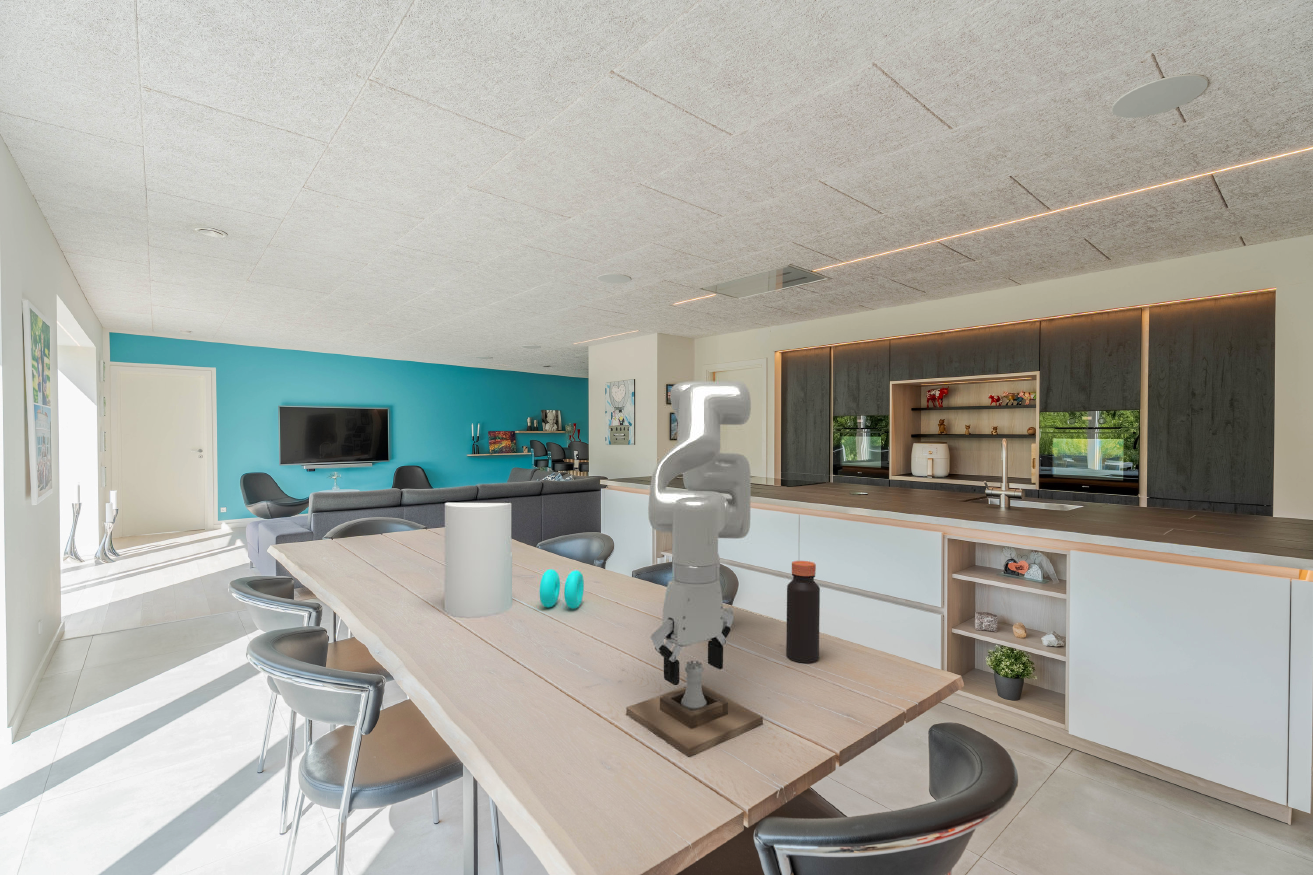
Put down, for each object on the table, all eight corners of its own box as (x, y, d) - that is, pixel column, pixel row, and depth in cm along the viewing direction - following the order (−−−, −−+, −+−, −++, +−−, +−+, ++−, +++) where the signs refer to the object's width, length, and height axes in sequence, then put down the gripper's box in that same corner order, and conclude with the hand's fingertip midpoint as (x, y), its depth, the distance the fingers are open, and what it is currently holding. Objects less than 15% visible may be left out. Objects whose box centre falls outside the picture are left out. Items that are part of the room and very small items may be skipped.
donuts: (550, 600, 163) (550, 565, 163) (584, 602, 161) (585, 566, 161) (537, 611, 153) (538, 573, 153) (574, 613, 151) (575, 575, 151)
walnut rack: (697, 688, 108) (697, 671, 108) (762, 723, 95) (763, 704, 95) (626, 714, 98) (626, 695, 98) (688, 756, 86) (688, 735, 86)
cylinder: (501, 618, 148) (502, 507, 147) (433, 617, 148) (434, 506, 147) (518, 598, 165) (519, 499, 164) (457, 597, 165) (458, 498, 165)
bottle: (821, 654, 125) (822, 561, 125) (816, 665, 119) (817, 568, 119) (789, 649, 128) (790, 558, 128) (782, 660, 122) (784, 564, 122)
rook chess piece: (678, 705, 99) (679, 658, 99) (704, 704, 99) (705, 657, 99) (682, 718, 95) (682, 669, 94) (709, 717, 95) (709, 668, 95)
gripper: (717, 560, 105) (716, 654, 105) (639, 575, 94) (638, 680, 95) (747, 568, 99) (746, 668, 100) (668, 586, 88) (667, 697, 89)
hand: (694, 674), depth 97 cm, fingers open, 9 cm apart
